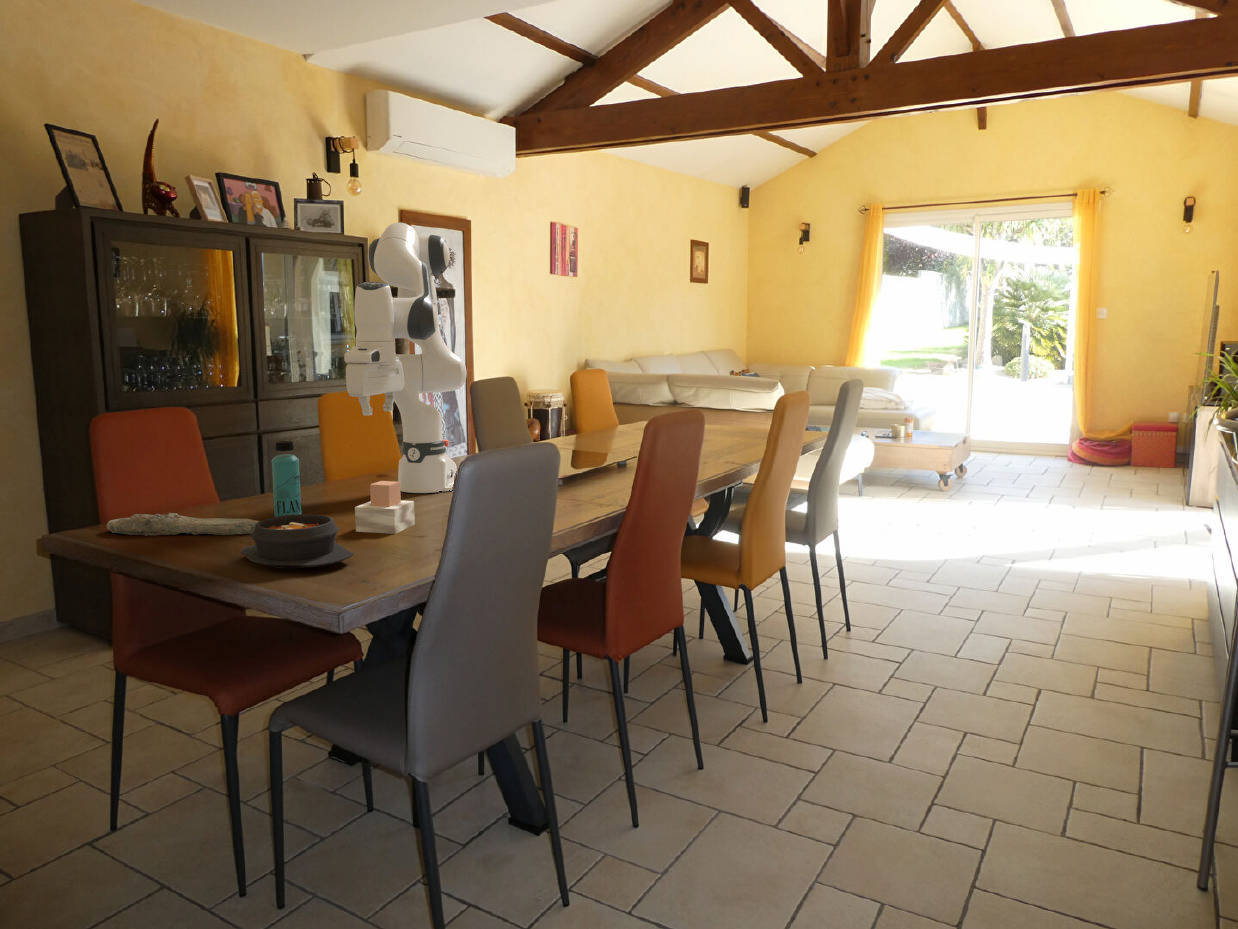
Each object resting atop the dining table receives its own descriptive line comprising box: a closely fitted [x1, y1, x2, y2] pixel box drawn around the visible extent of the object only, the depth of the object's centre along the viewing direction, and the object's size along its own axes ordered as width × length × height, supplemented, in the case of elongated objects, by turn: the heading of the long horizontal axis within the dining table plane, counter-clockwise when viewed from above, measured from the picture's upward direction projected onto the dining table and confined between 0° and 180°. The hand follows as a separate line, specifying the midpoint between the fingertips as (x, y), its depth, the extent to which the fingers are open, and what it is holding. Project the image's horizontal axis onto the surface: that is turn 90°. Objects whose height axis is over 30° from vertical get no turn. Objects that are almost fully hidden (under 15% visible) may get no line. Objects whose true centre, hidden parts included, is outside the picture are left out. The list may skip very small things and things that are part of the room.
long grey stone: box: [106, 512, 261, 537], centre depth 209 cm, size 35×5×10 cm
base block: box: [354, 499, 416, 535], centre depth 213 cm, size 10×10×6 cm
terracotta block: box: [369, 480, 402, 507], centre depth 212 cm, size 5×5×5 cm
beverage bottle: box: [271, 440, 303, 517], centre depth 216 cm, size 6×7×20 cm
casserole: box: [240, 513, 354, 569], centre depth 183 cm, size 25×19×8 cm
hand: (378, 413), depth 210 cm, fingers open, 8 cm apart
